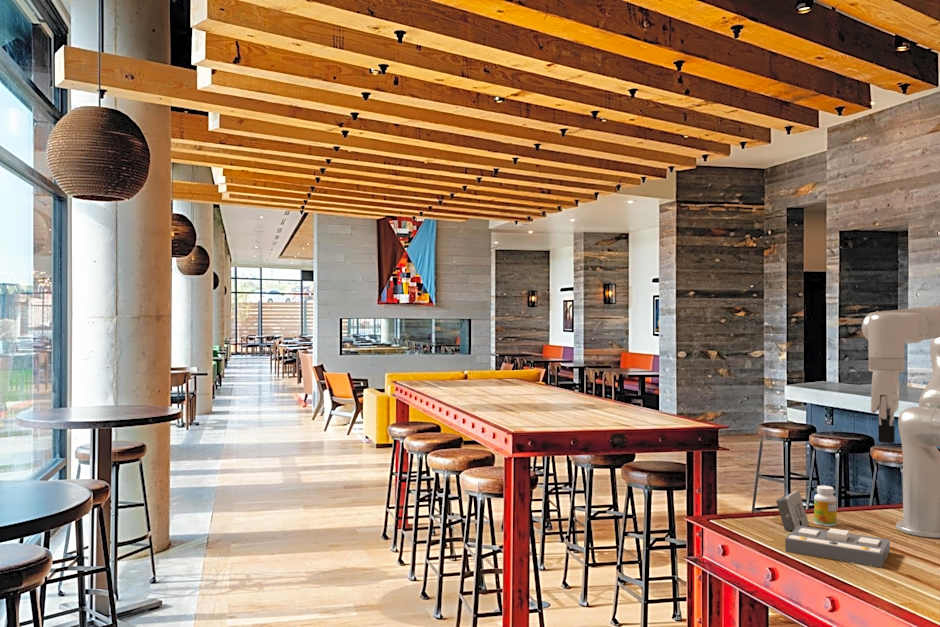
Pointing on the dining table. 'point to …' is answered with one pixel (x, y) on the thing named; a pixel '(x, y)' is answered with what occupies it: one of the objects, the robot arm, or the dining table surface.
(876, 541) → the right button
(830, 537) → the middle button
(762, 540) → the dining table surface
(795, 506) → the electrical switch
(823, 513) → the supplement bottle
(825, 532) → the switch panel
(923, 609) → the dining table surface
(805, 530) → the left button
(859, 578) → the dining table surface
